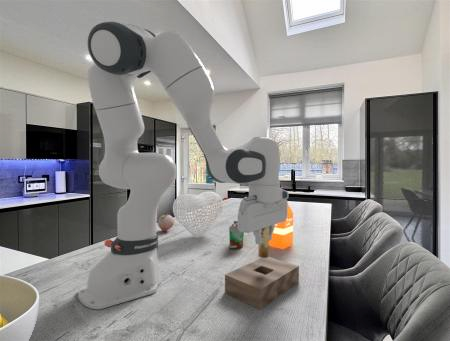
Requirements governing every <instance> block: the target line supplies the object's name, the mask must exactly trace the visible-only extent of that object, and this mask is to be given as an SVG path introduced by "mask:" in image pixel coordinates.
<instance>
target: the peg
mask: <svg viewBox="0 0 450 341" xmlns="http://www.w3.org/2000/svg"><path fill="white" fill-rule="evenodd" d="M260 233H261V236H262V237H264V240H263V241H264V242H263V243H262V244H257V245H258V247H257V248H258V254H257V255H258V257H259V258H267V257H270V246H269V227H266V228H262V232H260Z"/></svg>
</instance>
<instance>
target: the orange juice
mask: <svg viewBox="0 0 450 341" xmlns="http://www.w3.org/2000/svg"><path fill="white" fill-rule="evenodd" d="M293 245H294V212H293V210H292V208H291V207H290V205H289V204H288V214H287V219H286V221H285V222H281V223H278V224H275V228H274V231H273V234H272V240H270V241H269V247H273V248H278V249H281V250H284V249H285V250H286V248H289V247H291V246H293Z"/></svg>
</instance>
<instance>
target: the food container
mask: <svg viewBox="0 0 450 341" xmlns="http://www.w3.org/2000/svg"><path fill="white" fill-rule="evenodd" d="M228 227H229V228H228V232H229V233H228V234H229V250H230V251H231V250H232V251H233V250H240V249H243V247H244V237H245V236H244V234H245V232H241V231H239V230H238V228H237V220H233V223H232V224H231V226H228Z"/></svg>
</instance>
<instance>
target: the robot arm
mask: <svg viewBox="0 0 450 341" xmlns="http://www.w3.org/2000/svg"><path fill="white" fill-rule="evenodd" d="M87 49H88V53H89V55H90V58H91V60H92V61H93V63H94V64H93V65H91V66H90V67H89V69H88V71H87V81H88V88H89V92H90V97H91V101H92V105H93V107H94V110H95V113H96V114H95V115H96V117H97V120H98V122H99V126H100V129H101V132H102V135H103V140H104V157H103V159H102V160H101V162H100V163H99V166H98V175H99V179H100V180H101V182H102V183H104V184H105V185H107V186H110V187H113V188H116V189H122V190H130V192H129V197H128V199H127V201H126V203H125V204H123V205H122V206H121V207H119V209H118V211H117V216H116V217H117V222H116V224H117V225H116V226H117V230H116V231H117V235H116V238H115V239H114V240H112V239H105V241H104V246H105V247H107V248H110V252H109V253H108V254H106V255H105V256H104V257H103V258H102V259H101V260H100V261H99V262H98V263H97V264H96V265H94V266H93V267H92V268H91V269H90V271H89V274H88V278H87V284H86V285H83V286H81V287H80V288H79V289H78V291H77V298H78V301H80V303H82V305H83V306H85V307H87V308H89V309H92V310H102V309H106V308H109V307H112V306H116V305H118V304H121V303H126V302H129V301H132V300H136V299H140V298H143V297H146V296H148V295H152V294H155V293H157V290H158V286H159V285H160V284H161V283H162V281H163V277H162V275H161V271H160V266H159V259H158V248H159V234H158V233H157V226H158V209H159V204H160V202H161V200H162V197H163V195H164V194H165V193H166V191H167V190H169V188H170V187H171V186H172V185H173V184H174V182H175V180H176V179H177V175H178V170H177V164H176V162H175V161H174V159H173V158H172V157H171V156H169V155H168V154H167V155H166V154H163V153H158V152H139V149H138V140H139V138H141V136H143V134H144V133H145V127H146V126H145V124H144V123H145V122H144V119H143V116H142V113H141V112H142V111H141V108H140V105H139V102H138V97H137V95H136V92H135V87H134V85H135V80H136V78H138V79H141V78H143V77H145V76H147V74H150V73H153V75H155V76H156V77H157V79H158V80H159V82H160V83H161V85H162V86H163V89H164V90H165V92H166V93H167V95H168V96H169V98H170V100H171V101H172V103H173V104H174V105H175V107H176V109H177V110H178V111H179V113H180V115H181V116H182V118H183V119H184V121H185V123H186V125H187V126H188V128H189V131H190V132H191V134H192V136H193V138H194V140H195V141H196V144H197V145H198V146H199V148H200V150H201V153H202V155H203V156H204V161H205V167H206V170H207V173H208V175H209V177H210V178H211V179H212V180H213V181H215V182H217V183H220V184H225V183H227V184H235V185H243V184H246V183H248V196H244V197H243V199H242V200H241V202H240V203H239V206H238V211H237V212H238V213H237V220H236V221H237V228H238V230H239V231H241V232H244V234H245V233H246V234H249V233H253V236H254V238H255V244H256V245H258V244H262V243H263V242H264V241H263V240H264V237H262V236H261V233H260V232H262V228H266V227H269V241H270V240H272V234H273V231H274V228H275V224H278V223H281V222H285V221H286V219H287V214H288V205H289V203H288V199H289V192H288V190H285V189H283V188H281V182H280V181H281V180H280V177H279V175H280V172H281V170H280V169H281V156H280V147H279V143H278V142H277V141H276V140H275V139H273V138H270V137H267V136H266V137H264V136H256V137H252V138H251V139H250V140H249V141H248V142H246V143H244V144H243V145H240V146H237V147H236V148H231V149H228V148H226V147H225V146H224V145H223V144H222V142H221V140H220V138H219V136H218V134H217V132H216V130H215V128H214V127H213V124H212V121H211V110H212V106H213V103H214V99H215V93H216V91H215V87H214V85H213V82H212V79H211V77H210V75H209V74H208V71H207V70H206V68H205V66H204V65H203V63H202V62H201V60H200V58H199V56H198V55H197V53H196V52H195V51H194V49H193V48H192V46H191V45H190V44H189V43H188V42H187V40H186V39H185V38H184V36H182V35H181V34H180V33H179V32H177V31H174V30H166V31H162V32H160V33H158V34H157V35H155V33H153V32H152V31H150V30H148V29H145V28H142V27H140V26H138V25H134V24H129V23H126V24H125V23H120V22H116V21H104V22H101V23H98V24H96V25H95V26H93V27H92V28H91V30H90V32H89V33H88V37H87Z"/></svg>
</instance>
